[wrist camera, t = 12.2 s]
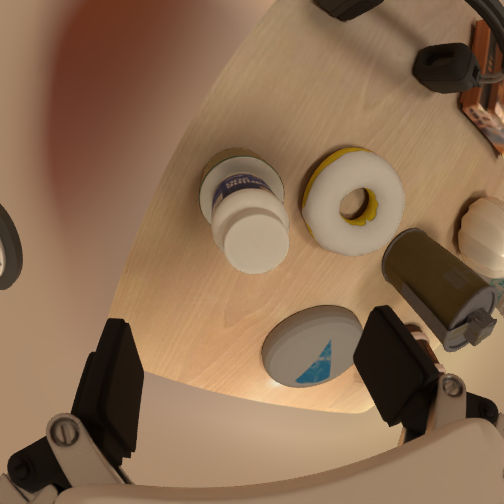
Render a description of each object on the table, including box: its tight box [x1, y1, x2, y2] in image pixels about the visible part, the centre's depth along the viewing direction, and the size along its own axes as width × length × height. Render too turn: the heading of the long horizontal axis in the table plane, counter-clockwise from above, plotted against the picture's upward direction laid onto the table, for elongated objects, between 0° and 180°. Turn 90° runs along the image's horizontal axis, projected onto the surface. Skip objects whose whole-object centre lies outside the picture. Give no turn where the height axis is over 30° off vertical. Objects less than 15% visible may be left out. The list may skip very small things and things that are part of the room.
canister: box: [382, 229, 498, 352], centre depth 31 cm, size 11×10×20 cm
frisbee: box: [262, 306, 363, 388], centre depth 44 cm, size 18×18×5 cm
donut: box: [302, 147, 405, 256], centre depth 32 cm, size 14×14×5 cm
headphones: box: [317, 0, 504, 94], centre depth 15 cm, size 22×6×20 cm, turn 65°
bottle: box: [473, 270, 504, 318], centre depth 37 cm, size 7×7×20 cm
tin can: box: [199, 148, 284, 226], centre depth 28 cm, size 8×8×8 cm
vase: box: [458, 197, 504, 279], centre depth 34 cm, size 14×14×13 cm
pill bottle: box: [212, 172, 289, 274], centre depth 21 cm, size 5×5×10 cm
